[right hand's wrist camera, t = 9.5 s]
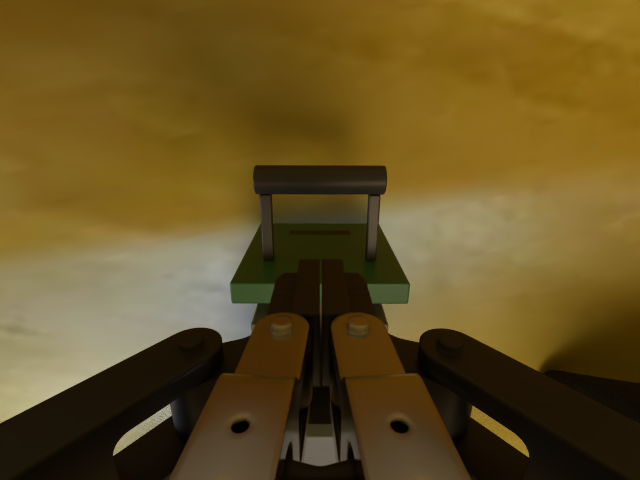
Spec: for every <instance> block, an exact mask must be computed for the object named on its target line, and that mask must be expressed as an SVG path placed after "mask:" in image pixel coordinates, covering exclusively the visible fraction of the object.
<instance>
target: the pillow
mask: <svg viewBox="0 0 640 480" xmlns="http://www.w3.org/2000/svg"><path fill="white" fill-rule="evenodd" d="M545 375H546V376H548V377H550V378H552V379H554V380H556V381H558V382H560V383H561V384H563V385H565V386H567V387H569V388H571V389H573V390H575V391H577V392H579V393H581V394H583V395H585V396H587V397H589V398H591V399H593V400H595V401H597V402H599V403H601V404H603V405H604V406H606V407H608V408H610V409H612V410H614V411H616V412H618V413H620V414H622V415H624V416H626V417H628V418H630V419H632V420H634V421H636V422H638V423H640V383H634V382H626V381H619V380H613V379H606V378H600V377H593V376H587V375H581V374H576V373H570V372H564V371H556V370H550V371H548V372H545Z"/></svg>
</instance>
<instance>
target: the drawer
mask: <svg viewBox="0 0 640 480" xmlns="http://www.w3.org/2000/svg"><path fill="white" fill-rule="evenodd" d="M253 183H254V190H255V193H256V194H260V211H261V224H260V226H259V228H258V230H257V232H256V234H255V236H254V238H253V240H252V242H251V244H250V246H249V248H248V250H247V251H246V253H245V255H244V257H243V259H242V261H241V263H240V265H239V267H238V269H237V271H236V273H235V275H234V277H233V279H232V281H231V283H230V290H231V300H232V303H258V305H257V308H256V311H255V314H254V317H253V321H252V324H251V330H252V331H253V329H254V327H255V325H256V323H257V322H258V321H259V320H260V319H262V318H263V317H265V316H267V312H268V308H269V304H270V301H271V297H272V293H273V289H274V285H275V282H276V279H277V278H278V277H280V276H281V275H282V274H283V273H297V272H298V265H299V259H320V386H313V391H312V399H311V402H310V416H309V424H331V416H330V386H322V259H343V265H344V272H345V273H359V274H360V275H361V276H362V277H364V278H365V279H366V282H367V286H368V289H369V293H370V296H371V300H372V304H373V307H374V311H375V315H376V317H377V318H378V319H380V320H381V321H382V322H383V323H384V325H385V327H386V329H387V331H388V323H387V320H386V317H385V313H384V310H383V307H382V304H407V303H408V297H409V288H410V284H409V282H408V280H407V278H406V276H405V274H404V272H403V270H402V268H401V266H400V264H399V262H398V260H397V258H396V256H395V254H394V253H393V251H392V249H391V247H390V245H389V243H388V241H387V239H386V237H385V235H384V233H383V231H382V229H381V227H380V225H379V210H380V195H379V194H384V193H385V191H386V185H387V171H386V167H385V166H294V165H256V166H255V167H254V172H253ZM272 194H368V210H367V224H273V210H272Z"/></svg>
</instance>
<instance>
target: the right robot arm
mask: <svg viewBox="0 0 640 480" xmlns="http://www.w3.org/2000/svg"><path fill="white" fill-rule="evenodd" d="M313 386H320V259H299V265H298V272H297V273H283V274H282V275H281V276H280V277H278V278H277V279H276V282H275V285H274V289H273V293H272V297H271V301H270V304H269V308H268V312H267V316H265V317H263V318H262V319H260V320H259V321H258V322H257V323H256V325H255V327H254V329H253V331H252V334H251V335H250V336H248V337H246V338H243V339H239V340H234V341H229V342H225V343H222V338H221V335H220V334H219V333H218V332H217V331H215V330H212V329H209V328H193V329H188V330H184V331H181V332H179V333H176V334H174V335H172V336H170V337H168V338H167V339H165V340H163V341H161V342H159V343H157V344H155V345H153V346H151V347H149V348H147V349H145V350H143V351H141V352H139V353H137V354H135V355H133V356H131V357H129V358H127V359H125V360H124V361H122V362H120V363H118V364H116V365H114V366H112V367H110V368H108V369H106V370H104V371H102V372H100V373H98V374H96V375H94V376H92V377H90V378H88V379H86V380H84V381H82V382H80V383H79V384H77V385H75V386H73V387H71V388H69V389H67V390H65V391H63V392H61V393H59V394H57V395H55V396H53V397H51V398H49V399H47V400H45V401H43V402H41V403H39V404H37V405H36V406H34V407H32V408H30V409H28V410H26V411H24V412H22V413H20V414H18V415H16V416H14V417H12V418H10V419H8V420H6V421H4V422H2V423H0V480H640V423H638V422H636V421H634V420H632V419H630V418H628V417H626V416H624V415H622V414H620V413H618V412H616V411H614V410H612V409H610V408H608V407H606V406H604V405H603V404H601V403H599V402H597V401H595V400H593V399H591V398H589V397H587V396H585V395H583V394H581V393H579V392H577V391H575V390H573V389H571V388H569V387H567V386H565V385H563V384H561V383H560V382H558V381H556V380H554V379H552V378H550V377H548V376H546V375H544V374H542V373H540V372H538V371H536V370H534V369H532V368H530V367H528V366H526V365H524V364H522V363H520V362H518V361H516V360H515V359H513V358H511V357H509V356H507V355H505V354H503V353H501V352H499V351H497V350H495V349H493V348H491V347H489V346H487V345H485V344H483V343H481V342H479V341H477V340H475V339H473V338H472V337H470V336H468V335H466V334H463V333H461V332H458V331H455V330H451V329H442V328H440V329H431V330H428V331H426V332H424V333H423V334H422V335H421V337H420V340H419V342H414V341H409V340H404V339H400V338H397V337H395V336H392V335H390V334H389V333H388V331H387V329H386V327H385V325H384V323H383V322H382V321H381V320H380V319H378V318H377V317H376V315H375V311H374V307H373V304H372V300H371V296H370V293H369V289H368V286H367V282H366V279H365V278H364V277H362V276H361V275H360V274H359V273H345V272H344V265H343V259H322V386H330V416H331V424H332V432H333V440H334V448H335V456H336V463H333V464H329V465H325V466H315V465H311V464H307V463H304V456H305V448H306V440H307V432H308V424H309V416H310V402H311V399H312V391H313ZM168 404H170V407H171V412H172V416H171V417H169V418H168V419H166V420H165V421H163V422H162V423H161V424H159V425H158V426H156V427H155V428H153V429H152V430H150V431H149V432H148V433H146V434H145V435H143V436H142V437H140V438H139V439H137V440H136V441H135V442H133V443H132V444H130V445H129V446H127V447H126V448H125V449H123V450H122V451H120V452H119V453H117V454H116V455H114V456H113V451H114V448H115V446H116V444H117V442H118V441H119V440H120V438H121V437H122V436H123V435H124V434H125V433H127V432H128V431H129V430H131V429H132V428H134V427H135V426H137V425H138V424H140V423H141V422H143V421H144V420H146V419H147V418H149V417H150V416H152V415H153V414H155V413H156V412H158V411H159V410H161V409H162V408H164V407H165V406H167V405H168ZM472 405H473V406H475V407H476V408H478V409H479V410H481V411H482V412H484V413H485V414H487V415H488V416H490V417H491V418H493V419H494V420H496V421H497V422H499V423H500V424H502V425H503V426H505V427H506V428H508V429H509V430H511V431H512V432H514V433H515V434H516V435H517V436H518V437H519V438H520V439H521V440H522V441H523V442H524V444H525V445H526V447H527V449H528V452H529V457H527V456H526V455H524V454H523V453H521V452H520V451H518V450H517V449H516V448H514V447H513V446H511V445H510V444H508V443H507V442H505V441H504V440H503V439H501V438H500V437H498V436H497V435H495V434H494V433H492V432H491V431H490V430H488V429H487V428H485V427H484V426H482V425H481V424H479V423H478V422H477V421H475V420H474V419H472V418H471V417H470V416H471V411H472Z"/></svg>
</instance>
